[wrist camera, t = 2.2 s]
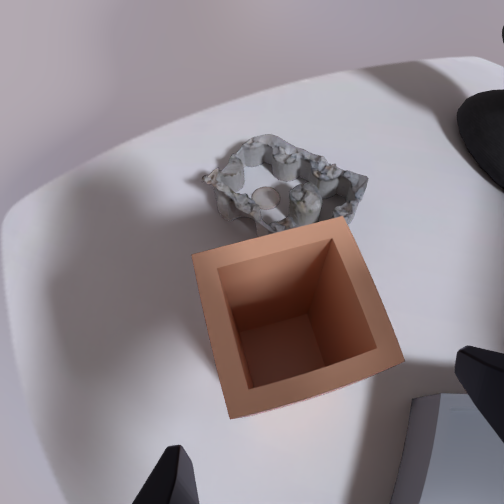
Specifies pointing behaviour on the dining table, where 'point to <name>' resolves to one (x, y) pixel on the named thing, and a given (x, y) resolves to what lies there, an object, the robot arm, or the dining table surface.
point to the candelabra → (485, 130)
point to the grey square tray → (449, 455)
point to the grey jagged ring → (286, 169)
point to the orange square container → (292, 317)
